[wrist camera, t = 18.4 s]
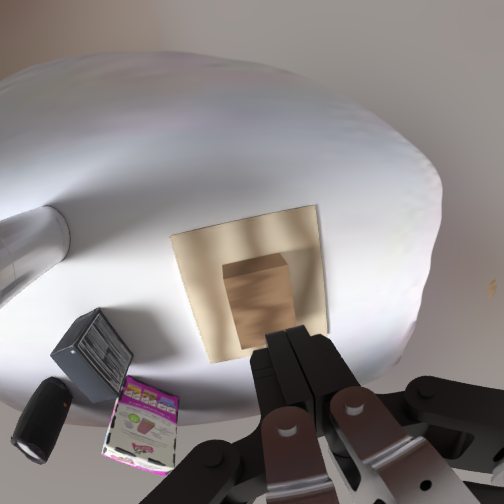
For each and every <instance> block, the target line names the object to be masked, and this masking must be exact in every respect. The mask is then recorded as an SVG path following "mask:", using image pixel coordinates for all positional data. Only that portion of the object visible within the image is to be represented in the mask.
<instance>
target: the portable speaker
mask: <svg viewBox="0 0 504 504" xmlns="http://www.w3.org/2000/svg"><path fill="white" fill-rule="evenodd" d="M72 398H73V397H72V396H70V394H69V393H68V391H67V389H66V386H65V384H64V383H62V382H61V381H60V380H59V379H56V378H53V377H50V378H48V379H45V380H44V381H42V383H41V384H40V385H39V387H38V388H37V389H36V391H35V392H34V394H33V395H32V397H31V398H30V400H29V402H28V403H27V405H26V407H25V409H24V410H23V412H22V414H21V416H20V418H19V420H18V423H17V426H16V428H15V431H14V434H13V437H11V443H12V444H13V445H14V446H16V447H17V448H18V449H19V450H20V451H21V452H22V453H24V454H25V456H26V457H27V458H28V459H30V460H31V461H33V462H35V463H37V464H40V465H41V464H44V463H46V462H47V460H48V458H49V456H50V454H51V452H52V450H53V448H54V446H55V444H56V441H57V439H58V436H59V433H60V431H61V429H62V426H63V424H64V422H65V419H66V416H67V414H68V411H69V408H70V405H71V401H72Z"/></svg>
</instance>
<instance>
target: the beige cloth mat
mask: <svg viewBox="0 0 504 504" xmlns="http://www.w3.org/2000/svg"><path fill="white" fill-rule="evenodd" d="M170 239H171V243H172V247H173V250H174V254H175V257H176V261H177V264H178V268H179V271H180V274H181V278H182V281H183V284H184V287H185V291H186V294H187V297H188V300H189V303H190V306H191V309H192V312H193V315H194V318H195V321H196V324H197V327H198V330H199V333H200V336H201V338H202V341H203V344H204V347H205V350H206V352H207V355H208V358H209V360H210V363H211V364H212V363H218V362H223V361H228V360H233V359H238V358H243V357H248V356H252V353H253V350H258V349H262V348H266V345H262V346H257V347H253V348H248V349H244V350H242V349H241V346H240V342H239V338H238V335H237V331H236V327H235V324H234V320H233V316H232V312H231V309H230V305H229V301H228V297H227V293H226V289H225V285H224V281H223V272H222V265H224V264H229V263H233V262H238V261H242V260H247V259H251V258H256V257H260V256H265V255H269V254H274V253H278V252H279V253H280V254H281V256H282V257H283V259H284V260H285V261H286V263H287V264H288V269H289V275H290V282H291V289H292V296H293V303H294V311H295V318H296V326H299V325H304V326H305V327H306V329H307V331H308V332H309V334H310V336H313V335H316V334H322V335H324V336H325V337H326V336H327V320H326V305H325V292H324V280H323V269H322V259H321V250H320V241H319V232H318V224H317V216H316V209H315V205H311V206H306V207H301V208H296V209H290V210H285V211H280V212H275V213H270V214H266V215H261V216H256V217H251V218H246V219H242V220H237V221H233V222H228V223H223V224H219V225H214V226H210V227H206V228H201V229H197V230H192V231H188V232H184V233H180V234H175V235H171V236H170Z"/></svg>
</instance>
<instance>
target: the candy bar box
mask: <svg viewBox="0 0 504 504" xmlns="http://www.w3.org/2000/svg"><path fill="white" fill-rule="evenodd" d="M178 408H179V398H178V397H176V396H173V395H171V394H168V393H166V392H163V391H161V390H158V389H156V388H153V387H151V386H149V385H146V384H144V383H141V382H139V381H137V380H135V379H133V378H130V377H128V376H126V377H125V380H124V382H123V385H122V388H121V392H120V396H119V398H117V400H116V403H115V406H114V410H113V413H112V416H111V420H110V423H109V427H108V431H107V434H106V438H105V442H104V446H103V450H102V455H103V456H106V457H108V458H111V459H114V460H116V461H118V462H121V463H124V464H127V465H129V466H132V467H135V468H139V469H142V470H145V471H148V472H151V473H155V474H158V475H162V476H166V475H167V474H168V473H169V472H170V471H172V470H173V469H174V468H175V447H176V434H177V420H178Z"/></svg>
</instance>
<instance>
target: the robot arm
mask: <svg viewBox="0 0 504 504" xmlns="http://www.w3.org/2000/svg"><path fill="white" fill-rule="evenodd" d="M69 244H70V234H69V229H68V226H67V223H66V221H65V219H64V218H63V216H62V215H61V214H60V213H59V212H58V211H57V210H56V209H54V208H52V207H48V206H43V207H39V208H36V209H33V210H30V211H27V212H24V213H21V214H18V215H15V216H12V217H9V218H7V219H4V220H1V221H0V309H1V308H2V307H3V306H4V305H5V304H7V303H8V302H9V301H10V300H11V299H12V298H14V297H15V296H16V295H17V294H18V293H20V292H21V291H22V290H23V289H25V288H26V287H27V286H28V285H30V284H31V283H32V282H33V281H35V280H36V279H37V278H39V277H40V276H41V275H43V274H44V273H45V272H47V271H48V270H49V269H51V268H52V267H53V266H55V265H56V264H58V263H59V262H60V261H62V260H63V259H64V258H65V256H66V254H67V252H68V249H69ZM264 337H265V342H266V348H262V349H258V350H253V353H252V356H251V358H250V365H251V370H252V375H253V379H254V384H255V389H256V393H257V398H258V403H259V407H260V412H261V420H260V423H259V425H258V427H257V428H256V430H254V431H253V433H251V434H250V435H248V436H247V437H245V438H243V439H241V440H238V441H236V442H234V443H232V444H231V443H229V442H227V441H224V440H208V441H205V442H202V443H200V444H198V445H197V446H196V447H194V448H193V449H192V451H191V452H190V453H189V454H188V455H187V456H186V457H185V458H184V459H183V460H182V461H181V462H180V463H179V464H178V466H176V468H175V469H174V470H173V471H172V472H171V473H170V474H169V475H168V476H167V477H166V478H165V479H164V480H163V481H162V482H161V483H160V484H159V485H158V486H157V487H156V488H155V489H154V490H153V491H151V492H150V493H149V494H148V495H147V497H145V498H144V499H143V500H142V501H141V502H140V503H139V504H252V503H253V502H254V501H255V499H256V498H257V497H259V496H261V495H263V494H265V493H266V502H267V504H339V500H338V497H337V493H336V490H335V487H334V484H333V482H332V480H331V479H330V478H329V476H328V473H327V470H326V467H325V463H324V459H323V456H322V452H321V448H320V445H319V442H318V438H319V437H322V436H325V438H326V440H327V442H328V452H329V455H330V457H331V459H332V461H333V463H334V465H335V466H336V468H337V470H338V472H339V474H340V476H341V477H342V479H343V481H344V483H345V485H346V487H347V489H348V490H349V492H350V495H351V498H352V503H353V504H504V390H500V389H494V388H487V387H482V386H476V385H471V384H466V383H461V382H456V381H451V380H446V379H442V378H437V377H433V376H421V377H418V378H415V379H414V380H412V381H411V382H410V383H409V384H408V385H407V387H406V389H405V391H401V392H396V393H389V394H375V393H374V392H373V391H371V390H369V389H368V388H365V387H361V386H360V384H359V383H358V381H357V380H356V378H355V377H354V375H353V373H352V372H351V370H350V369H349V367H348V366H347V364H346V363H345V361H344V360H343V358H341V355H340V353H339V352H338V350H336V347H335V346H334V344H333V343H332V341H331V340H330V339H329V338H327V337H325V336H324V335H322V334H316V335H313V336H310V334H309V332H308V331H307V329H306V327H305V326H304V325H299V326H296V327H292V328H288V329H285V330H280V331H276V332H272V333H267V334H264ZM451 467H452V468H457V469H463V470H468V471H474V472H482V473H489V474H493V476H492V478H491V484H492V485H486V484H479V483H474V482H469V481H462V480H461V479H460V478H459V477H458V476H457V475H456V473H455V472H454V471H453V470H452V468H451ZM498 485H499V486H498ZM500 486H501V487H500Z"/></svg>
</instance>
